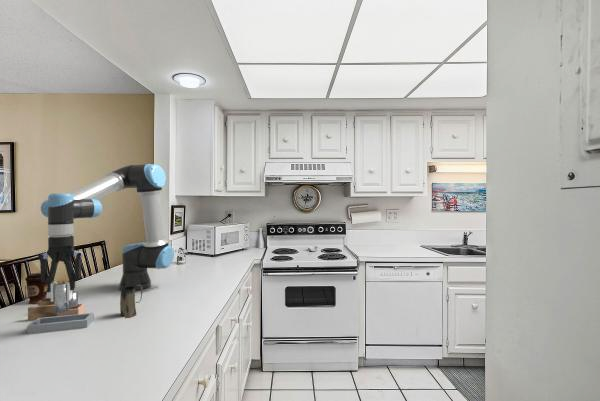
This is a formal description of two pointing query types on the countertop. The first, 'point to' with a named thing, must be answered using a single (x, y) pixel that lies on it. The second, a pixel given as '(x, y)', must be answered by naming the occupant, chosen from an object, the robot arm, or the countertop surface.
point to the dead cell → (74, 300)
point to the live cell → (60, 297)
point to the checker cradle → (41, 310)
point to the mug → (128, 302)
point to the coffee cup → (36, 288)
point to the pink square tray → (74, 310)
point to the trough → (60, 323)
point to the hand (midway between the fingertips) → (61, 299)
